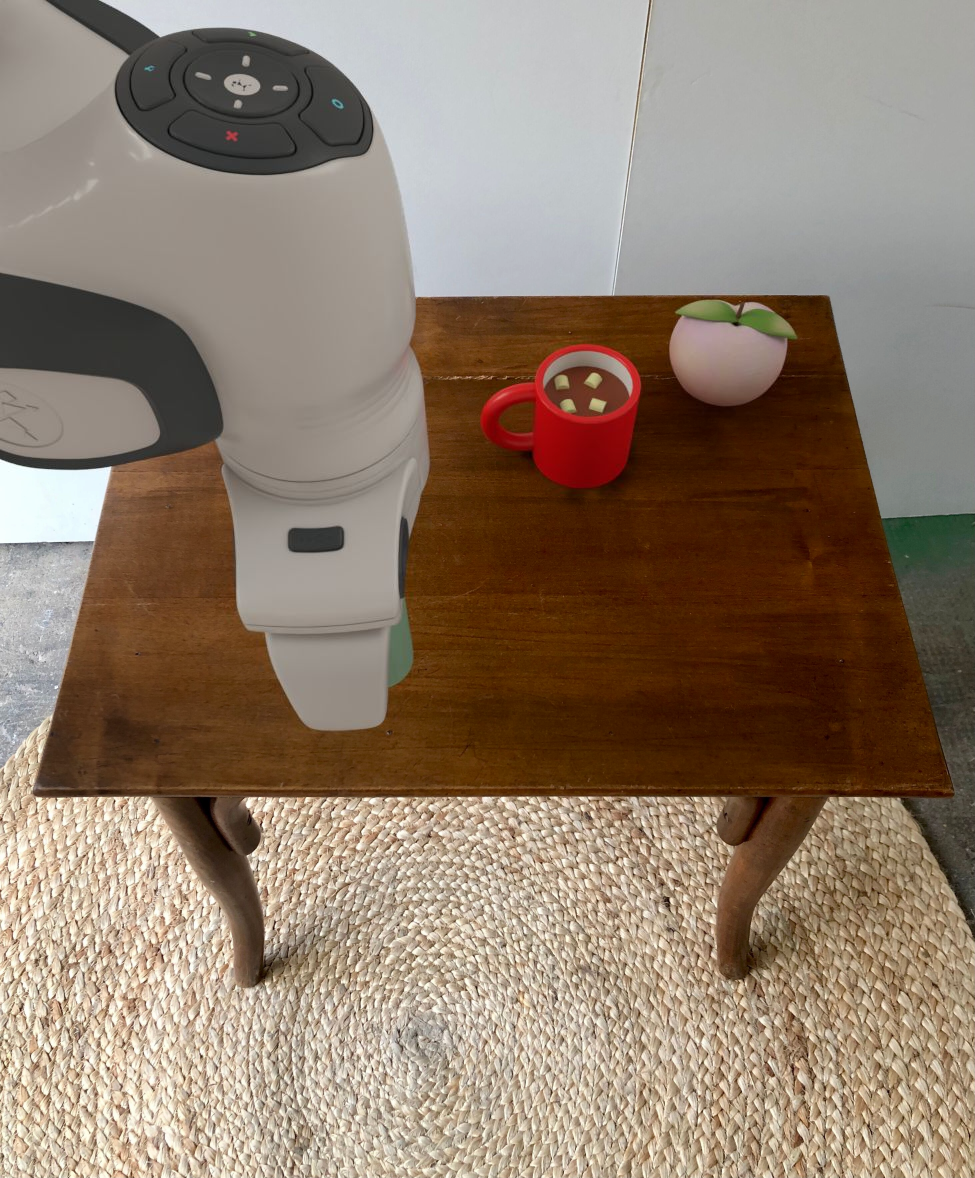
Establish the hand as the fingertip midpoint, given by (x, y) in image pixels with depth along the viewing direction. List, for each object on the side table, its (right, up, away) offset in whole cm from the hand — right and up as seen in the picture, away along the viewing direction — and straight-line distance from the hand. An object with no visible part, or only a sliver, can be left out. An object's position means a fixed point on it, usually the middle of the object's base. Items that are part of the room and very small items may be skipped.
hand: (364, 599), depth 51 cm
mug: (+12, +12, +22) cm, 28 cm away
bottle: (0, -4, +7) cm, 8 cm away
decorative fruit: (+26, +17, +25) cm, 40 cm away
